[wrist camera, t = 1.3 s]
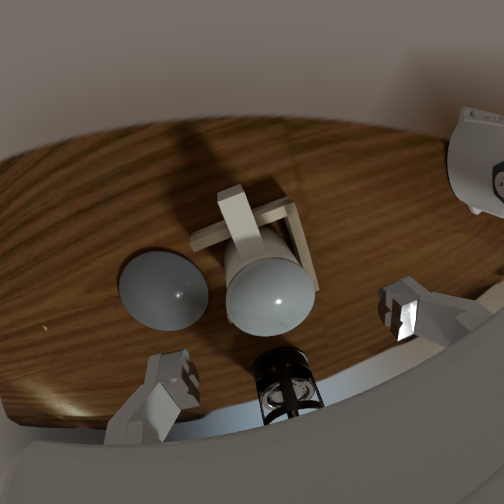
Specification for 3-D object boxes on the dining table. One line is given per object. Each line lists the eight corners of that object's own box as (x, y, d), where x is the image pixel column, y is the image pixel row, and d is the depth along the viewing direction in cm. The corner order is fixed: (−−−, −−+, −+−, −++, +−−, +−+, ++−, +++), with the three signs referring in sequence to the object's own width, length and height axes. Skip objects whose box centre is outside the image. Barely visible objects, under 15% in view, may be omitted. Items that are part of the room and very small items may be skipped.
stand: (287, 196, 32) (294, 202, 29) (312, 278, 37) (319, 289, 34) (191, 233, 32) (189, 242, 30) (228, 310, 37) (230, 323, 34)
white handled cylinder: (296, 272, 36) (322, 317, 27) (236, 295, 36) (245, 346, 27) (261, 168, 30) (282, 183, 21) (192, 195, 31) (182, 222, 21)
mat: (184, 235, 32) (183, 237, 32) (222, 312, 37) (222, 315, 37) (104, 270, 33) (103, 272, 32) (148, 337, 38) (147, 339, 37)
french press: (245, 352, 41) (270, 492, 20) (304, 336, 41) (358, 467, 20) (260, 394, 46) (284, 507, 25) (310, 380, 46) (350, 489, 25)
